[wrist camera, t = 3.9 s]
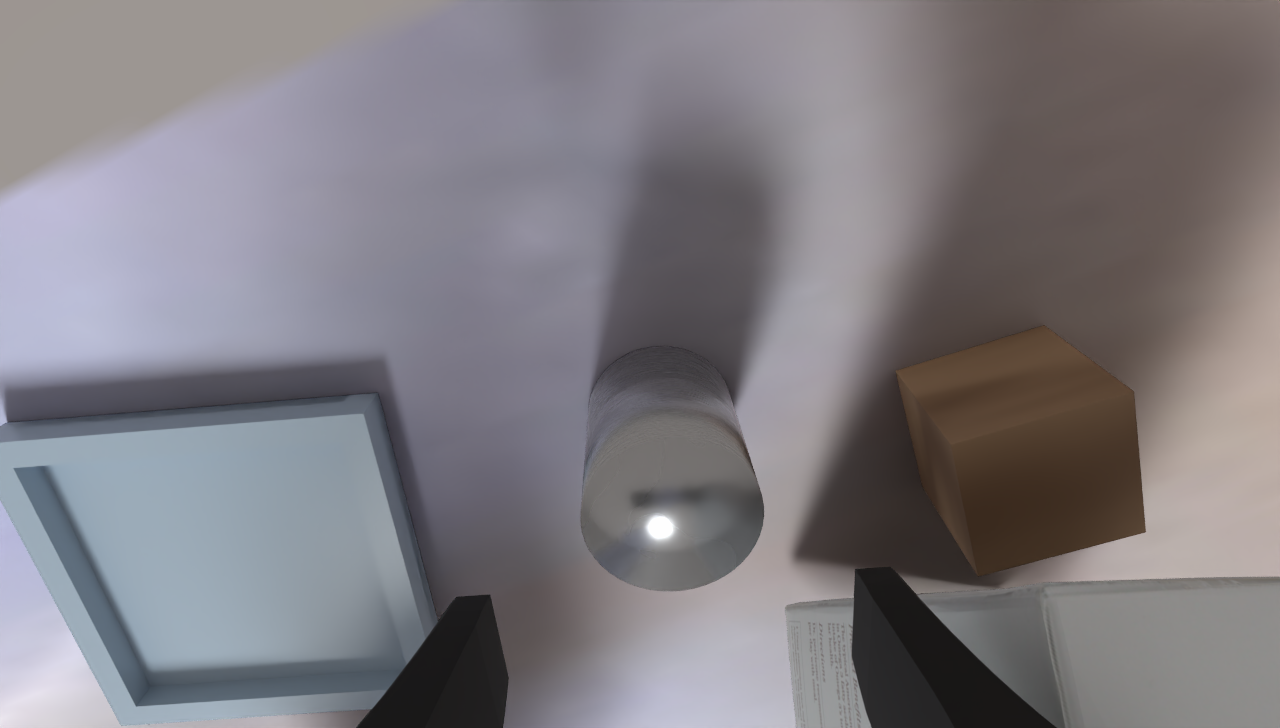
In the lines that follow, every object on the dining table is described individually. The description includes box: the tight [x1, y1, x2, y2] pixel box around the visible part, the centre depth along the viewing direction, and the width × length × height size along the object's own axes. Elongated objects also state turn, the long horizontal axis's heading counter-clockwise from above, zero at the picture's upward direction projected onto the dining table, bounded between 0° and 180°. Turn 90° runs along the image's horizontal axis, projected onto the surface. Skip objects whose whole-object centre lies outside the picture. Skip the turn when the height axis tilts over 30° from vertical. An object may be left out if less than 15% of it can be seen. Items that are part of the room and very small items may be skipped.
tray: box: [0, 393, 438, 726], centre depth 22 cm, size 11×11×1 cm
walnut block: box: [896, 325, 1146, 577], centre depth 19 cm, size 4×4×4 cm
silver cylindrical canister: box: [581, 346, 764, 591], centre depth 18 cm, size 4×4×5 cm
